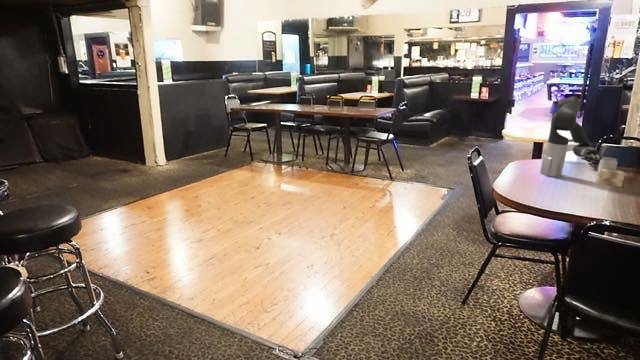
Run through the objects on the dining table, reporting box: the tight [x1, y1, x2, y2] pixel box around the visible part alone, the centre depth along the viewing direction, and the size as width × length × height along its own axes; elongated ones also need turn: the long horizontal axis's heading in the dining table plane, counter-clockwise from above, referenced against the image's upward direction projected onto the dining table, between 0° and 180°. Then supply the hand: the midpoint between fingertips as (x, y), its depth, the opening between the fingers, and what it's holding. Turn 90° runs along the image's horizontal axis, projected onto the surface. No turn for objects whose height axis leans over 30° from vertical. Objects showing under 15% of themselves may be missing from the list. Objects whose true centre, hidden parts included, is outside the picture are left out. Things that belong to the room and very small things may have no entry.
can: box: [595, 156, 618, 180], centre depth 212 cm, size 8×8×12 cm
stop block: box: [595, 169, 626, 187], centre depth 207 cm, size 10×4×7 cm, turn 71°
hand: (598, 161), depth 227 cm, fingers closed
